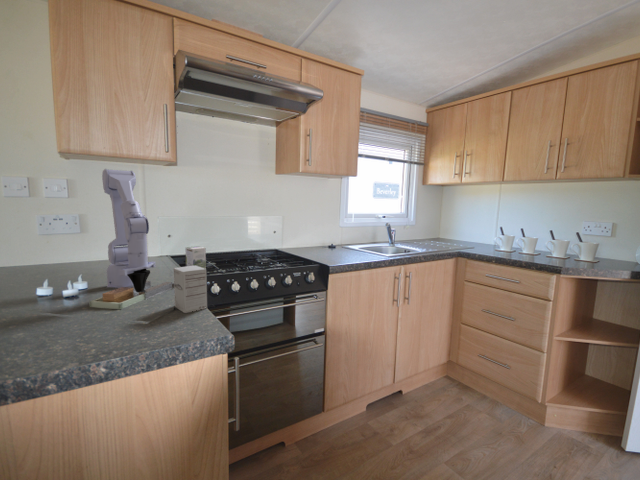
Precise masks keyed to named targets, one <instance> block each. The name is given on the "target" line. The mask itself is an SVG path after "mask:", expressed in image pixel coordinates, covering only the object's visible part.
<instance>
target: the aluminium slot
mask: <svg viewBox="0 0 640 480" xmlns="http://www.w3.org/2000/svg"><path fill="white" fill-rule="evenodd" d="M151 283H152V282H151V280H146V284H145V288H144V290H143V291H141V292H136V291H135V288H134V285H131V286H128V287H131V288H133V293H134V297H136V296H139V295H141V294H145V299H144V300H148V299H151V298H153V297H156V296H158V295H162V294H163V293H166V292H167V291H170V290H172V289H174V288H173V282H171V281H170V282H169V281H165V282H162V283H160V284H157V285H154V286H152V284H151Z"/></svg>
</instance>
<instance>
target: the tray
mask: <svg viewBox="0 0 640 480" xmlns="http://www.w3.org/2000/svg"><path fill="white" fill-rule="evenodd" d="M144 300H146V299H145V294H141V295H139V296H136V297H134V298H131V299H128V300H126V301H123V302H121V303H116V302H103V296H101V297H98V298H96V299H92V300H89V301H88V302H89V303H88V304H89V308H96V309H97V308H99V309H111V310H112V309H113V310H122V309H123V310H124V309H125V308H127V307H129V306H131V305H134V304H137V303H139V302H142V301H144Z"/></svg>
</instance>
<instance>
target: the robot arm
mask: <svg viewBox="0 0 640 480" xmlns="http://www.w3.org/2000/svg"><path fill="white" fill-rule="evenodd" d="M101 175H102V176H101V177H102V185H103V186H102V187H103V190H104V193H105V194H107V195H109V197H110V200H111V209H112V217H113V224H114V232H115V238H114V239H113V240H111V241H110V242H109V243H108V246H107V248H108V250H107V254H108V255H107V257H108V261H109V263H110V264H109V265H108V266H107V269H106V280H107V281H106V282H107V286H106V287H105V288H115V289H118V288H121V287H128V286H131V285H134V288H135V291H136V292H141V291H143V290H144V288H145V284H146V281H148V278H149V275H150V274H151V270H150V269H151V268H156V261H149V259H148V258H149V257H148V239H147V234H149V230H150V224H149V219H148V218H147V217H146V216H145V215H144V214H143V212H142V207H141V205H140V203H139V202H138V201H137V200H135V197H134V192H133V191H134V189H135V186H136V183H137V177H136V173H135V172H134V171H133V170H122V169H107V168H104V169H103V170H102V174H101ZM148 269H149V270H148Z"/></svg>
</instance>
